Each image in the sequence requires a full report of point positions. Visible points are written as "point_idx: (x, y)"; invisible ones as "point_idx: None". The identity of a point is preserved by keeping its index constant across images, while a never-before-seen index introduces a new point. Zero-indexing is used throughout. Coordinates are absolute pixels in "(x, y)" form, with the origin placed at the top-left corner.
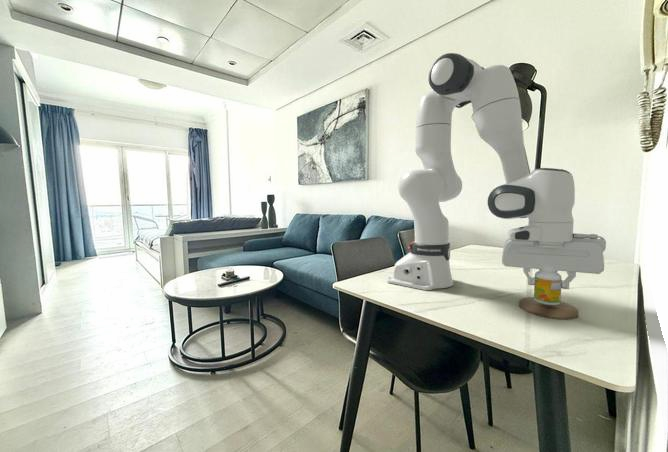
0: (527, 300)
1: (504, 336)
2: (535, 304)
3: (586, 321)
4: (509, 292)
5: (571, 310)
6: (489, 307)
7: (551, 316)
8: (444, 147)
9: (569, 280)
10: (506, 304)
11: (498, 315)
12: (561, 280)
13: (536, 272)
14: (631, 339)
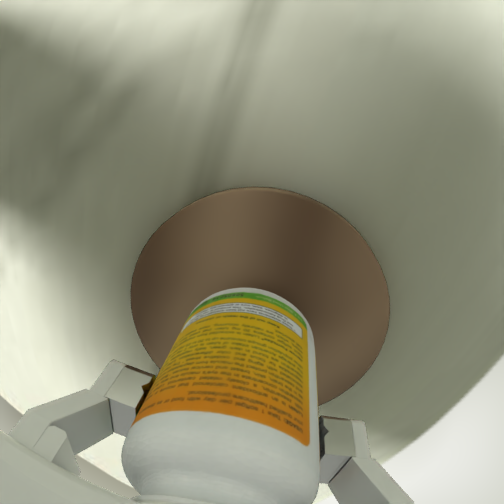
0: (173, 264)
1: (106, 459)
2: None
3: (352, 402)
4: (135, 56)
5: (340, 370)
6: (45, 316)
7: None
8: None
9: (346, 498)
10: (91, 276)
11: (77, 378)
12: (324, 461)
13: (125, 471)
14: (382, 463)
